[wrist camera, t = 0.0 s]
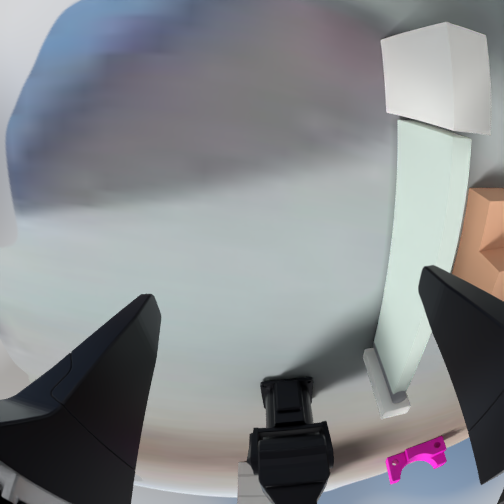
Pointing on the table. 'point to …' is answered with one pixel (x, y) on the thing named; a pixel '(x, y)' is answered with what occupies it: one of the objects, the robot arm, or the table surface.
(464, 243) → the tan stair step
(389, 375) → the door
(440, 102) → the white small block
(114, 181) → the table surface
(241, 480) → the pizza boxes
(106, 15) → the table surface
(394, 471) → the toy block
